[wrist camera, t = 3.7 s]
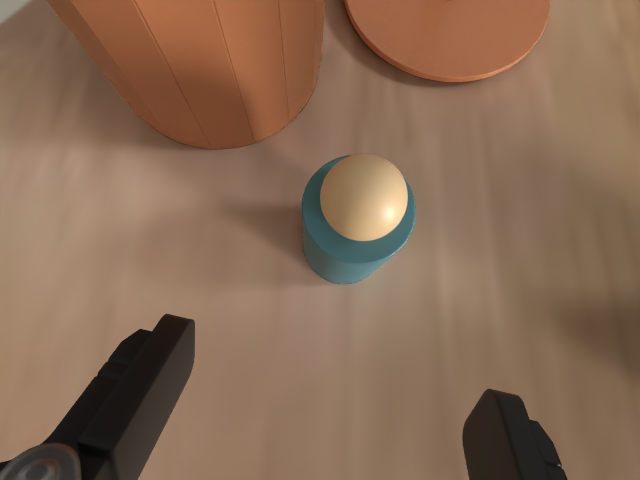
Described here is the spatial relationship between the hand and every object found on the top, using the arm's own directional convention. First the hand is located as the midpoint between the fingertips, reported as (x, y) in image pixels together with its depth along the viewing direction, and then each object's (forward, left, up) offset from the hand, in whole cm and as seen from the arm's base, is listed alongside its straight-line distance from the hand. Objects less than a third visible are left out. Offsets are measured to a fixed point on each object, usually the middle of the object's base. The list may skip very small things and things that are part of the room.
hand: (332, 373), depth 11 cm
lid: (-3, -24, -10) cm, 26 cm away
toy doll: (0, -6, -11) cm, 12 cm away
